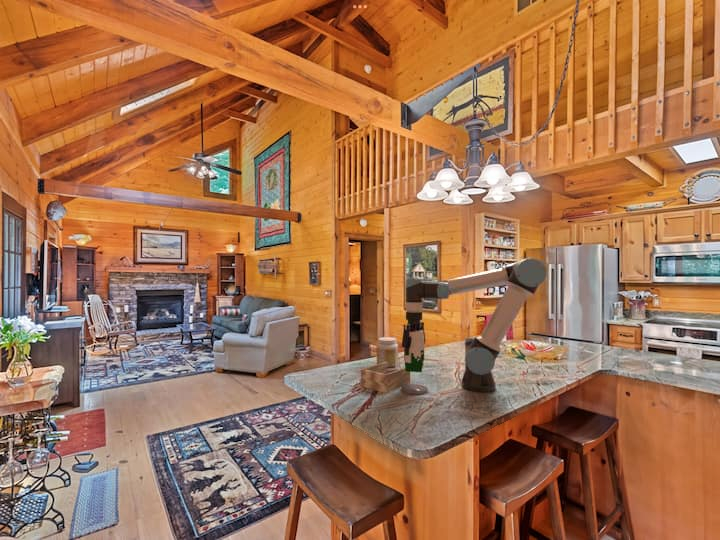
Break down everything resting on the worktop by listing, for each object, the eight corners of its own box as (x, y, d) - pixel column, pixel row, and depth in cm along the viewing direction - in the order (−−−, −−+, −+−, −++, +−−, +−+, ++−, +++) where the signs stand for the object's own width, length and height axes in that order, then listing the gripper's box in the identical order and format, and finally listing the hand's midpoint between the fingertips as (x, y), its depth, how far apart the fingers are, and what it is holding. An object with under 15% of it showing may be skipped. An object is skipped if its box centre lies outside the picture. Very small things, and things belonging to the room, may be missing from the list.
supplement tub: (384, 364, 206) (384, 336, 206) (402, 368, 199) (402, 338, 199) (372, 369, 196) (372, 339, 196) (391, 372, 189) (391, 341, 189)
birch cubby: (410, 383, 170) (410, 366, 171) (386, 393, 156) (386, 375, 156) (385, 377, 180) (385, 361, 181) (360, 386, 166) (360, 369, 166)
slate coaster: (432, 389, 160) (432, 387, 160) (418, 396, 151) (418, 394, 151) (410, 384, 168) (410, 382, 168) (396, 390, 159) (396, 388, 159)
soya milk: (405, 366, 165) (405, 324, 165) (424, 368, 163) (424, 325, 163) (403, 371, 156) (403, 327, 157) (423, 373, 154) (423, 328, 155)
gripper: (419, 309, 171) (419, 355, 170) (393, 312, 154) (393, 363, 154) (433, 310, 166) (433, 357, 165) (407, 313, 149) (407, 366, 149)
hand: (414, 360), depth 160 cm, fingers closed on soya milk, 9 cm apart
